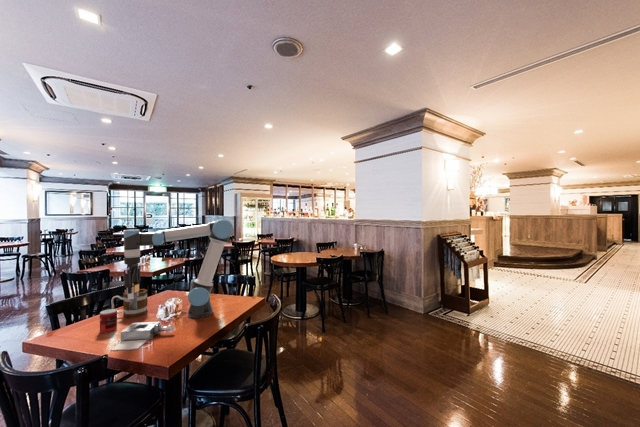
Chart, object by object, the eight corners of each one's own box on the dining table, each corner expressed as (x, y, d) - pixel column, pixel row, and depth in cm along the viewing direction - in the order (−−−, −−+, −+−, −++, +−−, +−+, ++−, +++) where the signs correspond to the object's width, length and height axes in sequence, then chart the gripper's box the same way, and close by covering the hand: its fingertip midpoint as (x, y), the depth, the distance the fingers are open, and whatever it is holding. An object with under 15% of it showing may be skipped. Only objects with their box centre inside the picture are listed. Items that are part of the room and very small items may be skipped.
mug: (147, 309, 191) (147, 287, 191) (148, 315, 180) (148, 292, 180) (112, 315, 180) (112, 292, 180) (110, 322, 169) (110, 297, 169)
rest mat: (146, 340, 143) (146, 339, 143) (137, 349, 134) (137, 348, 134) (121, 342, 142) (121, 341, 142) (110, 350, 133) (110, 349, 133)
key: (139, 307, 160) (139, 283, 160) (135, 310, 155) (135, 285, 155) (131, 308, 159) (130, 284, 159) (127, 310, 155) (126, 286, 155)
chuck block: (176, 329, 157) (176, 319, 157) (168, 338, 145) (168, 328, 145) (133, 331, 154) (133, 322, 154) (120, 341, 142) (120, 330, 142)
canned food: (105, 328, 160) (105, 309, 160) (120, 327, 160) (120, 308, 161) (96, 333, 152) (96, 313, 152) (111, 333, 153) (111, 313, 153)
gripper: (133, 254, 165) (134, 293, 165) (115, 259, 148) (116, 302, 148) (146, 254, 166) (147, 292, 166) (131, 258, 149) (132, 302, 149)
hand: (133, 297), depth 157 cm, fingers closed on key, 4 cm apart
